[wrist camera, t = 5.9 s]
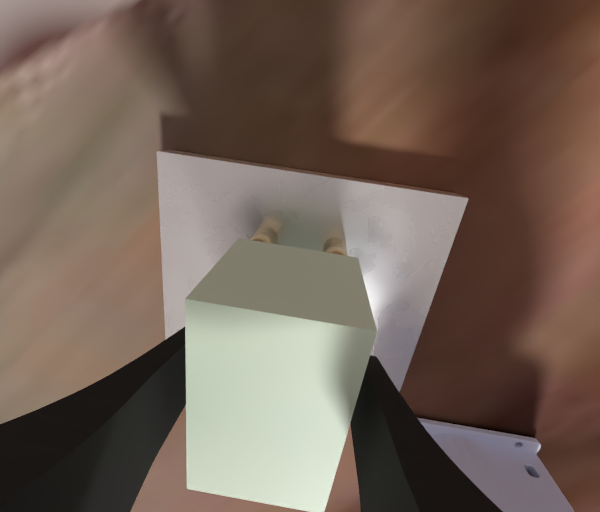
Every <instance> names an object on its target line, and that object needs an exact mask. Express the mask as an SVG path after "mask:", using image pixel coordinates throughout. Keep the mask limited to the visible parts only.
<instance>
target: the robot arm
mask: <svg viewBox="0 0 600 512" xmlns="http://www.w3.org/2000/svg"><path fill="white" fill-rule="evenodd" d="M185 404H186V350H185V327H183V328H182V329H180V330H179V331H178V332H176V333H175V334H173V335H172V336H170V337H169V338H167V339H166V340H164V341H163V342H161V343H160V344H159V345H157V346H156V347H154V348H153V349H151V350H149V351H148V352H146V353H145V354H143V355H142V356H140V357H139V358H137V359H135V360H134V361H132V362H131V363H129V364H127V365H126V366H124V367H122V368H121V369H119V370H117V371H116V372H114V373H112V374H110V375H109V376H107V377H105V378H103V379H101V380H99V381H98V382H96V383H94V384H92V385H90V386H88V387H86V388H84V389H82V390H80V391H78V392H76V393H74V394H72V395H69V396H67V397H65V398H63V399H60V400H58V401H56V402H54V403H51V404H49V405H47V406H45V407H42V408H40V409H38V410H36V411H33V412H31V413H28V414H26V415H23V416H21V417H18V418H16V419H13V420H11V421H8V422H5V423H3V424H0V512H130V511H131V509H132V506H133V504H134V502H135V500H136V497H137V495H138V493H139V491H140V489H141V487H142V484H143V482H144V480H145V478H146V476H147V474H148V471H149V469H150V467H151V465H152V463H153V461H154V459H155V457H156V456H157V454H158V452H159V450H160V448H161V446H162V445H163V443H164V441H165V439H166V438H167V436H168V434H169V432H170V431H171V429H172V427H173V425H174V424H175V422H176V420H177V419H178V417H179V415H180V413H181V412H182V410H183V408H184V406H185ZM350 423H351V431H352V439H353V446H354V454H355V461H356V469H357V477H358V484H359V493H360V504H361V512H574V510H573V509H572V507H571V506H570V504H569V503H568V501H567V500H566V498H565V497H564V495H563V493H562V492H561V490H560V489H559V487H558V486H557V484H556V483H555V481H554V480H553V478H552V477H551V475H550V474H549V472H548V471H547V469H546V468H545V466H544V465H543V463H542V462H541V460H540V459H539V457H538V456H537V452H538V451H539V449H540V447H541V445H540V443H539V442H538V440H537V439H535V438H532V437H526V436H520V435H514V434H509V433H503V432H497V431H491V430H486V429H480V428H474V427H468V426H462V425H457V424H451V423H445V422H439V421H433V420H428V419H422V418H417V417H416V416H415V414H414V413H413V412H412V410H411V409H410V407H409V406H408V404H407V403H406V402H405V400H404V399H403V397H402V396H401V394H400V393H399V391H398V390H397V388H396V387H395V385H394V383H393V382H392V380H391V379H390V377H389V376H388V374H387V372H386V371H385V369H384V367H383V366H382V364H381V363H380V361H379V359H378V358H377V357H376V356H371V355H370V357H369V361H368V364H367V368H366V371H365V374H364V378H363V381H362V385H361V388H360V391H359V395H358V398H357V402H356V405H355V409H354V412H353V415H352V419H351V422H350Z"/></svg>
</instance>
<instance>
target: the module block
mask: <svg viewBox="0 0 600 512" xmlns="http://www.w3.org/2000/svg"><path fill="white" fill-rule="evenodd" d="M376 333H377V329H376V325H375V321H374V317H373V314H372V310H371V306H370V302H369V298H368V294H367V291H366V287H365V283H364V279H363V275H362V272H361V268H360V264H359V260H358V257H352V256H345V255H339V254H333V253H327V252H321V251H315V250H309V249H302V248H296V247H290V246H284V245H278V244H272V243H266V242H259V241H253V240H247V239H241V238H238V240H237V241H236V242H235V243H234V244H233V245H232V246H231V247H230V249H229V250H228V251H227V252H226V253H225V254H224V255H223V256H222V258H221V259H220V260H219V261H218V262H217V263H216V264H215V265H214V267H213V268H212V269H211V270H210V271H209V272H208V273H207V274H206V276H205V277H204V278H203V279H202V280H201V281H200V282H199V284H198V285H197V286H196V287H195V288H194V289H193V290H192V291H191V293H190V294H189V295H188V296H187V297H186V298H185V350H186V444H187V489H191V490H196V491H201V492H207V493H212V494H217V495H223V496H228V497H234V498H239V499H244V500H250V501H255V502H260V503H266V504H271V505H277V506H282V507H287V508H293V509H298V510H303V511H309V512H324V511H325V508H326V504H327V501H328V497H329V494H330V491H331V487H332V484H333V480H334V477H335V473H336V470H337V467H338V463H339V460H340V456H341V453H342V450H343V446H344V443H345V439H346V436H347V432H348V429H349V426H350V422H351V419H352V415H353V412H354V409H355V405H356V402H357V398H358V395H359V391H360V388H361V385H362V381H363V378H364V374H365V371H366V368H367V364H368V361H369V357H370V354H371V350H372V347H373V344H374V340H375V337H376Z"/></svg>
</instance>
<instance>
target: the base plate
mask: <svg viewBox="0 0 600 512" xmlns="http://www.w3.org/2000/svg"><path fill="white" fill-rule="evenodd" d="M157 168H158V189H159V210H160V231H161V252H162V274H163V295H164V316H165V337H166V339H167V338H169V337H170V336H172V335H173V334H175V333H176V332H178V331H179V330H180V329H182V328H183V327H185V298H186V297H187V296H188V295H189V294H190V293H191V291H192V290H193V289H194V288H195V287H196V286H197V285H198V284H199V282H200V281H201V280H202V279H203V278H204V277H205V276H206V274H207V273H208V272H209V271H210V270H211V269H212V268H213V267H214V265H215V264H216V263H217V262H218V261H219V260H220V259H221V258H222V256H223V255H224V254H225V253H226V252H227V251H228V250H229V249H230V247H231V246H232V245H233V244H234V243H235V242H236V241H237V240H238V238H241V239H247V240H253V241H259V242H266V243H272V244H278V245H284V246H290V247H296V248H302V249H309V250H315V251H321V252H327V253H333V254H339V255H345V256H352V257H358V260H359V264H360V268H361V272H362V275H363V279H364V283H365V287H366V291H367V294H368V298H369V302H370V306H371V310H372V314H373V317H374V321H375V325H376V329H377V333H376V337H375V340H374V344H373V347H372V350H371V354H370V355H371V356H376V357H377V358H378V359H379V361H380V363H381V364H382V366H383V367H384V369H385V371H386V372H387V374H388V376H389V377H390V379H391V380H392V382H393V383H394V385H395V387H396V388H397V390H398V391H399V393H400V390H401V387H402V384H403V381H404V379H405V376H406V373H407V370H408V367H409V365H410V362H411V359H412V356H413V353H414V351H415V348H416V345H417V342H418V339H419V337H420V334H421V331H422V328H423V325H424V323H425V320H426V317H427V314H428V311H429V309H430V306H431V303H432V300H433V297H434V295H435V292H436V289H437V286H438V283H439V281H440V278H441V275H442V272H443V269H444V267H445V264H446V261H447V258H448V255H449V253H450V250H451V247H452V244H453V241H454V239H455V236H456V233H457V230H458V227H459V225H460V222H461V219H462V216H463V213H464V211H465V208H466V205H467V202H468V199H469V198H467V197H464V196H462V195H460V194H457V193H453V192H447V191H440V190H433V189H427V188H420V187H414V186H407V185H400V184H394V183H387V182H381V181H374V180H367V179H361V178H354V177H348V176H341V175H334V174H328V173H321V172H315V171H308V170H301V169H295V168H288V167H281V166H275V165H268V164H262V163H255V162H248V161H242V160H235V159H229V158H222V157H215V156H209V155H202V154H196V153H189V152H182V151H176V150H164V151H157Z"/></svg>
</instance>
